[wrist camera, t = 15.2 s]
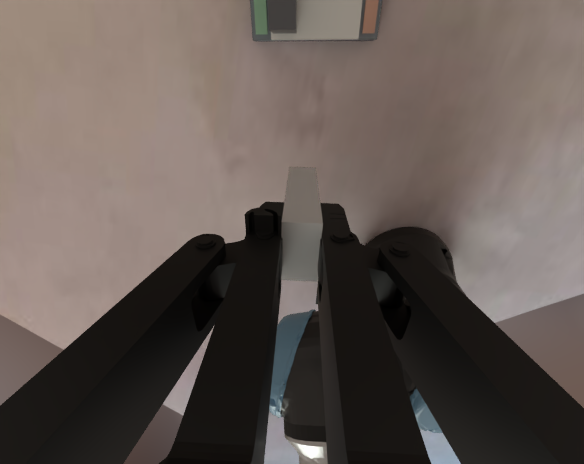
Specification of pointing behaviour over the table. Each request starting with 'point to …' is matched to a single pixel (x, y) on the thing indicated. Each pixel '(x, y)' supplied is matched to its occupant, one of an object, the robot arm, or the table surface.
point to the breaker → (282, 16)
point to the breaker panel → (322, 21)
